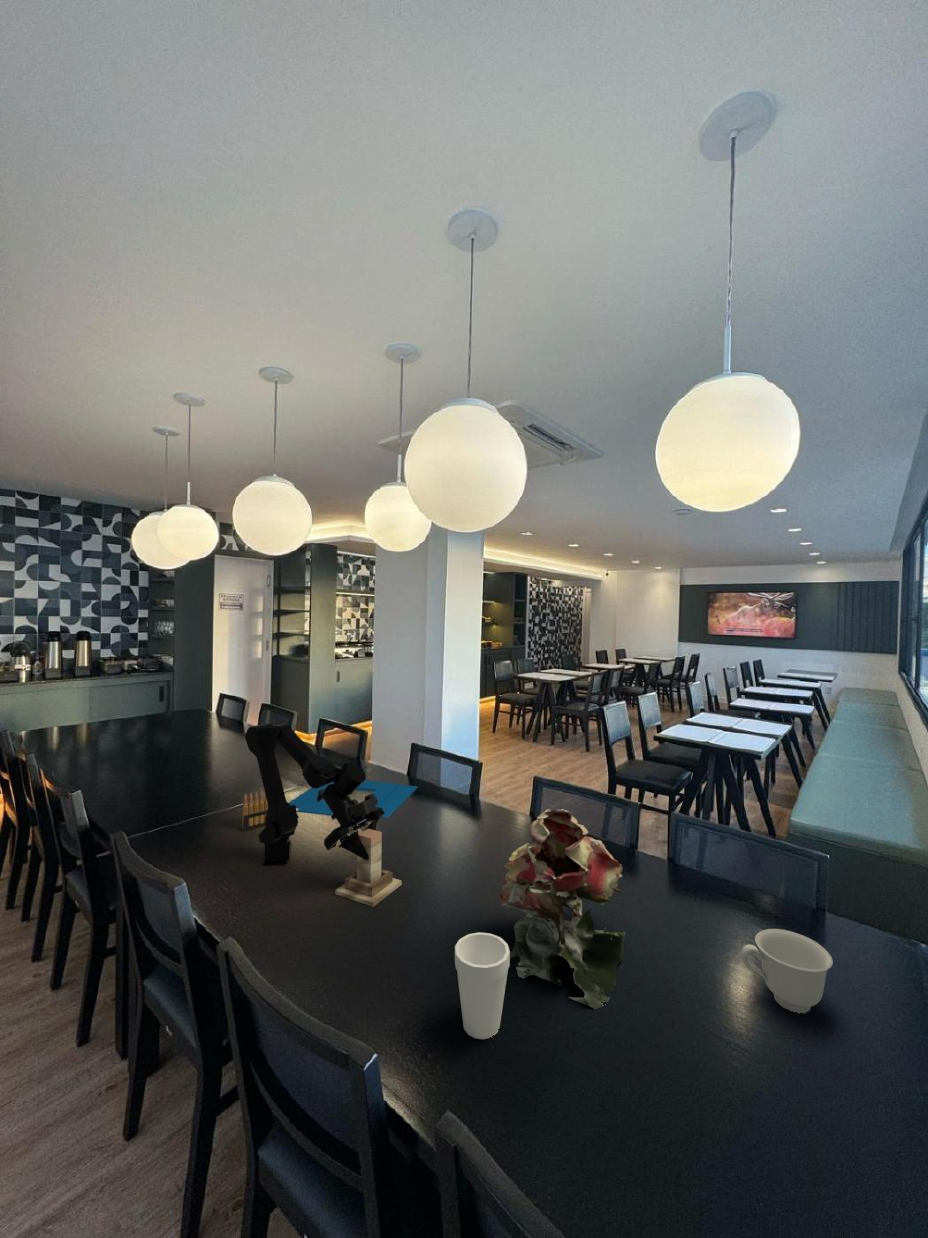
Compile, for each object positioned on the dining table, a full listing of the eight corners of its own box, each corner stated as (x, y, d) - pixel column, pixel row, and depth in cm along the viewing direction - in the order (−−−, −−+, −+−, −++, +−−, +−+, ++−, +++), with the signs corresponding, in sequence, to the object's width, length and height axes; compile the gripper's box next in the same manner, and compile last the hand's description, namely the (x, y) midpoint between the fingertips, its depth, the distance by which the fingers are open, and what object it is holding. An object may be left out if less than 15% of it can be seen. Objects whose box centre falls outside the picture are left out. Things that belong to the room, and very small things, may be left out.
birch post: (356, 881, 131) (357, 834, 131) (367, 874, 135) (368, 828, 135) (370, 886, 129) (371, 838, 129) (381, 878, 133) (381, 832, 133)
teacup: (728, 975, 101) (728, 925, 101) (808, 982, 100) (808, 930, 100) (756, 1023, 89) (757, 966, 89) (847, 1031, 88) (848, 973, 88)
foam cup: (452, 1005, 93) (453, 933, 93) (503, 1002, 94) (504, 931, 94) (456, 1049, 83) (457, 969, 83) (512, 1045, 84) (513, 966, 84)
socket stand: (335, 894, 130) (335, 880, 130) (365, 873, 140) (365, 860, 140) (373, 907, 124) (373, 892, 124) (401, 884, 135) (401, 871, 135)
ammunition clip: (242, 831, 167) (243, 794, 167) (241, 830, 168) (241, 793, 168) (275, 823, 174) (276, 788, 174) (273, 821, 175) (273, 786, 175)
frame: (417, 789, 212) (417, 784, 212) (384, 825, 177) (384, 819, 177) (326, 781, 222) (326, 776, 222) (277, 814, 186) (277, 808, 186)
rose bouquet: (628, 927, 117) (630, 796, 117) (612, 1019, 90) (614, 848, 90) (520, 902, 127) (521, 781, 127) (476, 977, 100) (478, 824, 100)
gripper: (333, 797, 126) (368, 852, 121) (379, 777, 142) (412, 825, 137) (309, 823, 129) (342, 878, 124) (357, 800, 146) (388, 848, 141)
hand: (373, 855), depth 132 cm, fingers closed on birch post, 4 cm apart
